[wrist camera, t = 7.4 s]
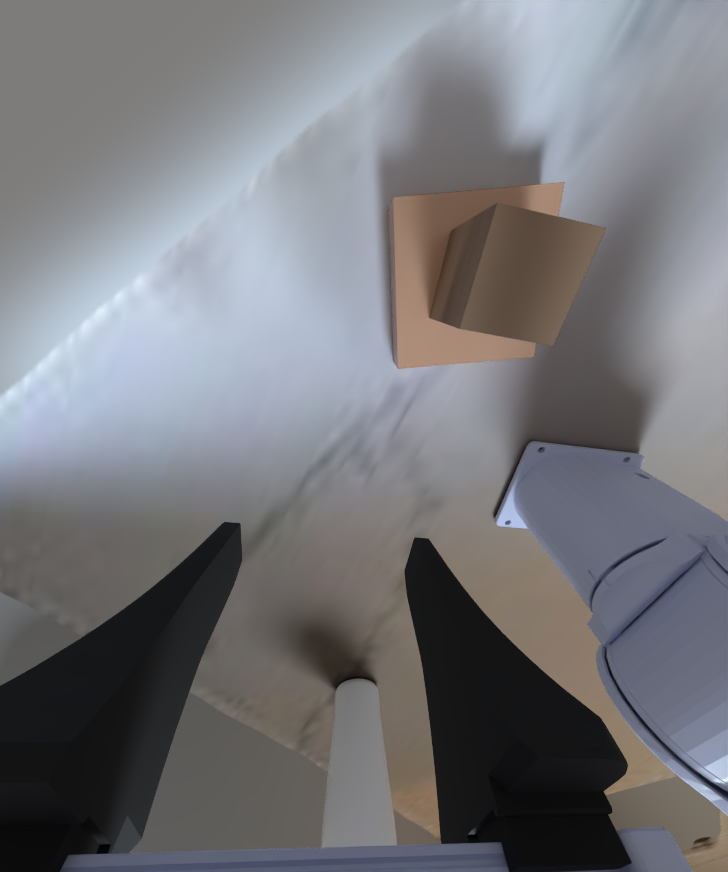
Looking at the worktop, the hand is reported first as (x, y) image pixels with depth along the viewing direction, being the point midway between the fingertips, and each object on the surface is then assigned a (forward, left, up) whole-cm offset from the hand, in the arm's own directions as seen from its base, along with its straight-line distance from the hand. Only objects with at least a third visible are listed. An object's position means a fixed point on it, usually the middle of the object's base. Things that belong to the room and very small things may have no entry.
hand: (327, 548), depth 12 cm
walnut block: (-6, -11, -8) cm, 15 cm away
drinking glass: (-6, +34, -10) cm, 36 cm away
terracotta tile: (-6, -11, -10) cm, 16 cm away
